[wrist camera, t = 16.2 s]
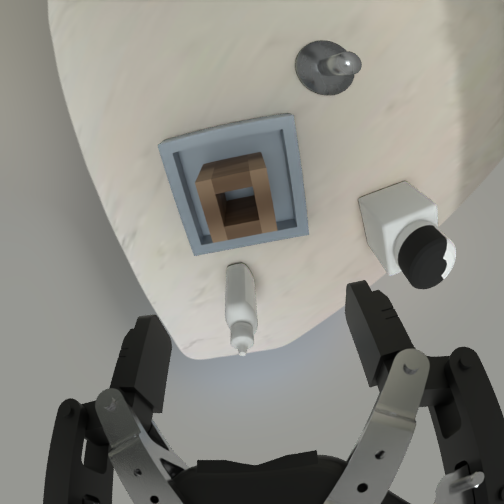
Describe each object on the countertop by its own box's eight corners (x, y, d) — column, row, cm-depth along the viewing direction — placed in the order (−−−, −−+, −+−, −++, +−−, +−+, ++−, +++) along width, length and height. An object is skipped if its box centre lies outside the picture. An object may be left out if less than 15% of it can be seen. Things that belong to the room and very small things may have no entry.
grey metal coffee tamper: (290, 43, 21) (306, 29, 15) (346, 41, 20) (376, 31, 15) (300, 97, 24) (320, 100, 18) (355, 93, 24) (387, 97, 18)
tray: (164, 140, 26) (157, 145, 24) (288, 112, 25) (293, 115, 23) (197, 243, 33) (194, 255, 31) (304, 223, 32) (309, 234, 30)
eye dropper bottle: (262, 265, 35) (272, 340, 25) (251, 297, 38) (255, 370, 28) (229, 258, 34) (226, 333, 24) (220, 291, 37) (216, 365, 27)
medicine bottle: (367, 244, 34) (407, 307, 24) (356, 197, 30) (405, 254, 20) (411, 226, 33) (460, 281, 23) (405, 179, 29) (465, 226, 19)
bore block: (203, 164, 27) (194, 182, 22) (260, 151, 27) (266, 167, 22) (217, 214, 30) (213, 242, 25) (270, 204, 30) (277, 230, 25)
